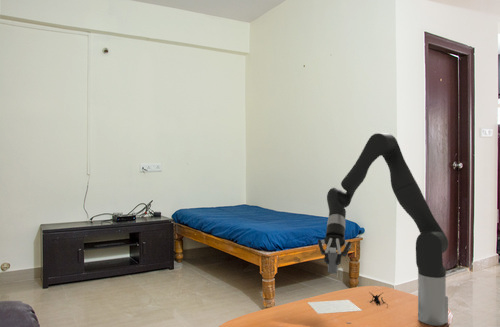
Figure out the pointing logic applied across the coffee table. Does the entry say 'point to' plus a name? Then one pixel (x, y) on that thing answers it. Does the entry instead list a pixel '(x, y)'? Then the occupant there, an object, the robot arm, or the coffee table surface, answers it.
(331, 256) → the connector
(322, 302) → the dock plate
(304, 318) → the coffee table surface
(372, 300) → the creature
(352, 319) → the coffee table surface
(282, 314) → the coffee table surface
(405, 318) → the coffee table surface
